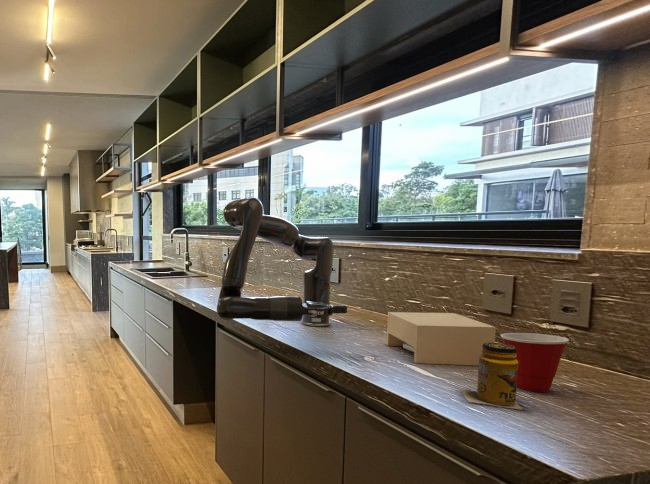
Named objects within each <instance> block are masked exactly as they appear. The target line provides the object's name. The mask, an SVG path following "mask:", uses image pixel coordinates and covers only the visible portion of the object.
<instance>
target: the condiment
mask: <svg viewBox="0 0 650 484" xmlns="http://www.w3.org/2000/svg"><path fill="white" fill-rule="evenodd" d="M482 347H483V350H482V354H481V355H480V357H479V365H478V368H477V370H478V371H477V385H476V390H469V389H463V388H460V389H459V390H460V392H461V393H462V395H463V397H464V398H465V399H466V401H467V402H468V403H473V404H482V405H489V406H493V407H494V406H495V407H499V408H505V409H506V408H507V409H515V410H523V407H522V406H520V404H519V403H517V401H516V398H517V391H518V389H517V388H518V387H517V376H518V367H519V366H518V361H517V360H516V357H517V355H516V353H517V349H516V348H515V347H514V346H511V345H508V344H505V343H503V342H502V343H501V342H495V343H493V342H489V343H484V344H483V345H482Z"/></svg>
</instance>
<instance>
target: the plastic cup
mask: <svg viewBox="0 0 650 484" xmlns="http://www.w3.org/2000/svg"><path fill="white" fill-rule="evenodd" d="M500 337H501V339H502V340H503V342H504V343H503V344H508V345H511V346H514V347H515V348H516V349H517V353H516V355H517V357H516V360H517V361H518V366H519V367H518V376H517V388H518V389H521V390H525V391H529V392H536V393H548V392H549V391H550V389H551V388H552V385H553V381H554V379H555V377H556V375H557V371H558V368H559V365H560V361H561V358H562V355H563V354H564V350H565V348H566V346H567V344H568V343H569V342H570V339H569V338H567V337H562V336H560V335H553V334H545V333H543V334H542V333H531V332H529V333H528V332H508V333H501V334H500Z"/></svg>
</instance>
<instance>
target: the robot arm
mask: <svg viewBox="0 0 650 484" xmlns="http://www.w3.org/2000/svg"><path fill="white" fill-rule="evenodd" d="M222 214H223V218H224V221H225V222H226V224H228V226H230V227H231V228H233V229H236V230H240V231H241V232H240V235H239V237H238V239H237V241H236V243H235V244H234V246H233V248H232V249H231V250H230V252H229V254H228V255H227V258H226V260H225V262H224V265H223V271H222V276H221V284H220V285H221V287H220V291H219V295H218V299H217V304H216V313H217V315H218V316H219V318H221V319H222V320H225V321H232V320H237V319H238V320H239V319H241V320H243V319H250V320H255V321H274V322H301V323H302V325H305V326H310V327H327V326H328V327H329V326H330V316H331V317H332V316H333V315H334V314H347V313H348V307H347V305H344V304H331V275H332V273H333V264H334V263H333V262H334V251H335V249H334V242H333V240H332V239H331V238H330V237H327V236H326V237H325V236H324V237H323V236H322V237H320V236H317V237H315V236H314V237H313V236H304V235H301V234H300V231H299V229H298V226H297V225H295V224H293V223H292V222H290V221H288V220H286V219H285V218H282V217H279V216H275V215H268V214H267V215H266V214H264V205H263V204H262V201H261V200H260V199H259V198H257V197H245V198H241V199H235V200H232V201H230V202H228V203H227V204H226V205H225V206H224V208H223V213H222ZM257 237H258V238H259V239H262V240H265V241H267V242H268V243H271V244H272V245H274V246H276V247H279V248H281V249H283V250H286V251H289V252H290V253H292V254H294V255H295V256H297V257H299V258H300V259H302V260H304V261H306V262H315V266H314V267H313V268H311V269H309V270H305V271H304V272H303V274H302V278H303V279H302V280H303V281H302V298H301V296H298V295H297V296H296V295H295V296H294V295H293V296H287V295H286V296H283V295H282V296H281V295H280V296H277V295H276V296H262V297H261V296H253V297H249V296H242V293H243V292H242V291H243V289H244V287H245V282H246V277H247V270H248V264H249V261H250V258H251V257H250V256H251V253H252V251H253V248H254V245H255V242H256V239H257Z"/></svg>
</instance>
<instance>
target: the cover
mask: <svg viewBox="0 0 650 484" xmlns="http://www.w3.org/2000/svg"><path fill="white" fill-rule="evenodd" d="M496 330H497V326H494V325H492V324H488V323H484V322H482V321H480V320H476V319H473V318H470V317H467V316H464V315H461V314H459V313H458V314H457V313H455V312H413V311H412V312H409V311H408V312H406V311H387V325H386V346H390V347H403V344H404V343H407V344H409V345H411V346H413V347H415V348H414V352H413V363H414V364H428V365H429V364H430V365H431V364H432V365H454V366H455V365H458V366H479V357H480V355H481V354H482V350H483V347H482V345H483V344H484V343H489V342H493V343H496V332H497V331H496Z"/></svg>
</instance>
